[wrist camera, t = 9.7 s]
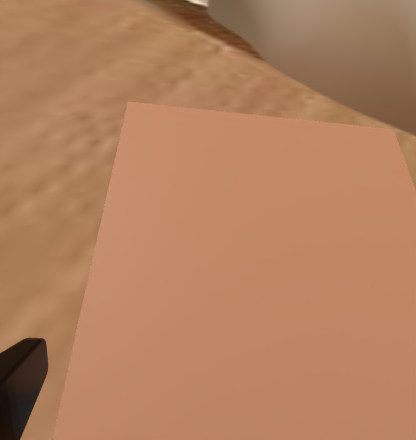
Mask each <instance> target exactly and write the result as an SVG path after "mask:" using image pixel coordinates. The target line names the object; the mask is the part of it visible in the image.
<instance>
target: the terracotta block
mask: <svg viewBox="0 0 416 440" xmlns="http://www.w3.org/2000/svg"><path fill="white" fill-rule="evenodd" d="M52 440H416V189H415V186H414V184H413V181H412V178H411V175H410V173H409V170H408V167H407V165H406V162H405V159H404V157H403V154H402V151H401V148H400V146H399V143H398V140H397V138H396V135H395V132H394V129H386V128H376V127H366V126H357V125H347V124H338V123H328V122H319V121H309V120H299V119H290V118H280V117H271V116H261V115H251V114H242V113H232V112H223V111H213V110H204V109H194V108H184V107H175V106H165V105H156V104H146V103H136V102H128V103H127V108H126V112H125V117H124V121H123V126H122V130H121V135H120V139H119V144H118V148H117V153H116V157H115V161H114V166H113V170H112V175H111V179H110V184H109V188H108V193H107V197H106V202H105V206H104V210H103V215H102V219H101V224H100V228H99V233H98V237H97V242H96V246H95V251H94V255H93V259H92V264H91V268H90V273H89V277H88V282H87V286H86V291H85V295H84V300H83V304H82V309H81V313H80V317H79V322H78V326H77V331H76V335H75V340H74V344H73V349H72V353H71V358H70V362H69V366H68V371H67V375H66V380H65V384H64V389H63V393H62V398H61V402H60V407H59V411H58V415H57V420H56V424H55V429H54V433H53V438H52Z"/></svg>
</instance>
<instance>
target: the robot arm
mask: <svg viewBox="0 0 416 440" xmlns="http://www.w3.org/2000/svg"><path fill="white" fill-rule="evenodd" d="M47 372H48V357H47V346H46V341H45V340H44V339H42V338H26V339H24V340H22V341H20V342H18V343H17V344H15V345H13V346H12V347H10V348H8V349H7V350H5V351H3V352H2V353H0V440H20V438H21V436H22V434H23V431H24V429H25V426H26V424H27V422H28V419H29V417H30V414H31V412H32V409H33V407H34V405H35V402H36V400H37V397H38V395H39V393H40V390H41V388H42V385H43V383H44V380H45V378H46V375H47Z"/></svg>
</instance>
